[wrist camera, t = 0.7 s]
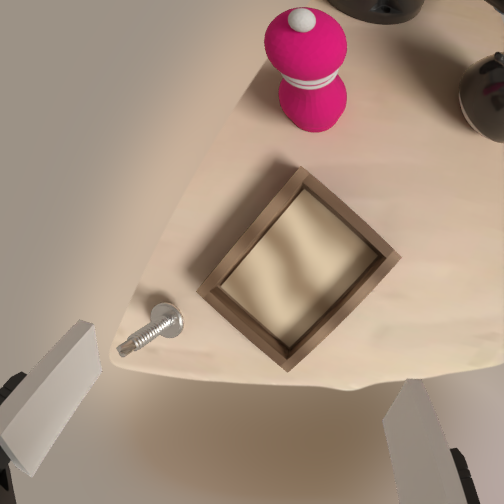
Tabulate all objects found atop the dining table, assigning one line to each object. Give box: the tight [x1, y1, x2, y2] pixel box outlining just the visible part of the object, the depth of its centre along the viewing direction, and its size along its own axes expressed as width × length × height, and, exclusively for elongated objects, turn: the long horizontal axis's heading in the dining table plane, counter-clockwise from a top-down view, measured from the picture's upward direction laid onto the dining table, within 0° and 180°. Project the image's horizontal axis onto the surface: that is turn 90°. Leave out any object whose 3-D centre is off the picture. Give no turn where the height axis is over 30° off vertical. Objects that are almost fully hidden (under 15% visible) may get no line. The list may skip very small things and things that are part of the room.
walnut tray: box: [196, 166, 402, 372], centre depth 35 cm, size 18×14×4 cm
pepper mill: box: [264, 7, 347, 132], centre depth 24 cm, size 7×7×20 cm
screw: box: [116, 302, 184, 357], centre depth 35 cm, size 13×5×5 cm
